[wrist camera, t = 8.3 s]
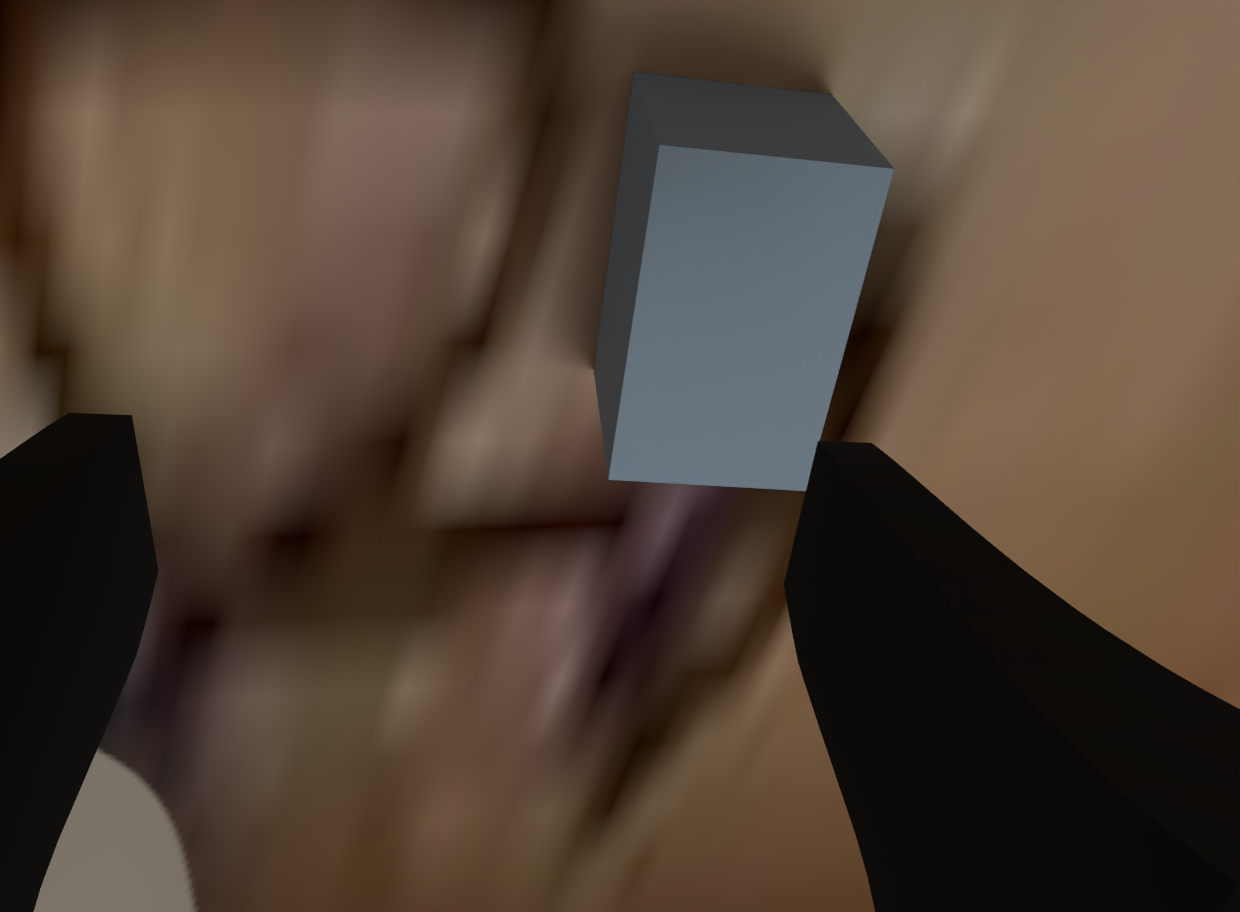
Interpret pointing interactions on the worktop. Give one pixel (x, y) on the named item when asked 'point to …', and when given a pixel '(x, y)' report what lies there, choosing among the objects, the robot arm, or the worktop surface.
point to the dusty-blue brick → (731, 280)
